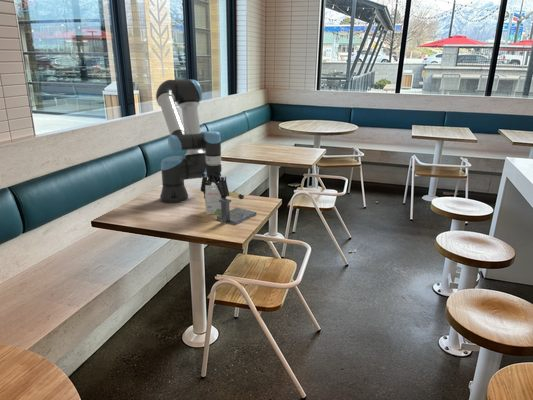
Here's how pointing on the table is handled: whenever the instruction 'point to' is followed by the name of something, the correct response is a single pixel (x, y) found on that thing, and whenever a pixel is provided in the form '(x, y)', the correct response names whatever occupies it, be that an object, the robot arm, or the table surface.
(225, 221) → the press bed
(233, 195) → the lever
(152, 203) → the table surface
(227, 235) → the table surface
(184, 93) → the robot arm
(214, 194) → the ink box
